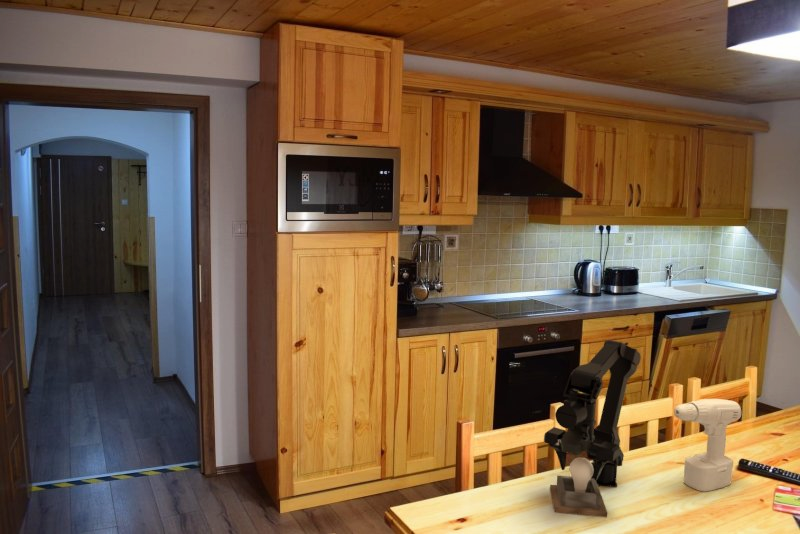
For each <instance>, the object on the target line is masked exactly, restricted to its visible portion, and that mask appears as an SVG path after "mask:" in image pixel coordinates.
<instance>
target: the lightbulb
mask: <svg viewBox="0 0 800 534" xmlns="http://www.w3.org/2000/svg"><path fill="white" fill-rule="evenodd" d="M568 470H569V473H570V475H571V476H570V477H572V478H573V481H574V488H575V492H583V493H585V490H586V488H587V484H588V482H589V480H590V479H591V477H592V476H593V472H594V469H593V466H592V464H591V461H590V459H588V458H585V457H576V458H573V460H572V461H571V462H570V463H569V469H568Z"/></svg>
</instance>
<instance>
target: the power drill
mask: <svg viewBox="0 0 800 534" xmlns="http://www.w3.org/2000/svg"><path fill="white" fill-rule="evenodd" d="M673 414H674V416H675V417H676V418H677V419H679V420H681V421H685V422H686V421H688V422H691V423H698V424H700V425H702V426H703V427H704V430H703V434H704V435H707V442H706V452H702V453H697V454H694V455H691V456H687V457H685V459H684V469H683V471H684V472H683V483H684V484H685V485H687V486H688V487H690V488H692V489H694V490H697V491H698V492H699V491H700V492H710V491H715V490H718V489H722V488H725V487H728V486H730V485H731V482H732V475H733V467H734V459H732V458H730V457H728V456H726V455H725V451H726V445H727V444H726V442H727V438H726V437H727V428H728V425H730V424H732V423H734V422H736V421H738V420H739V419H740V418H741V416H742V409H741V405H740V404H739V403H738V402H736V401H734V400H730V399H723V398H722V399H721V398H703V399H701V398H700V399H698V400H693V401H689V402H687V403H680V404H678V405H676V406H675V408H674V409H673Z"/></svg>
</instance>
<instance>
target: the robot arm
mask: <svg viewBox="0 0 800 534" xmlns="http://www.w3.org/2000/svg"><path fill="white" fill-rule="evenodd" d="M640 363H641V353H640V352H639V351H638V349H637V348H634V347H633V348H632V347H631V346H629V345H627V344H626V343H624V342H622V341H618V340H612V339H607V340H605V341H604V343H603V346H602V347H601V348H600V349H599V350H598V352H597V353H596V354H595V355H594V356H593V357H592V359H590V361H589V362H588V363H585V364H581V365H578V366H577V367H576V368H575V369H573V370H572V371H571V373H570V374H569V376H568V379H567V381H566V385H565V388H564V390H563V394H562V397H565V398H567V399H565V400H564V401H563V404H562V405H560V406H559V407H558V408H557V409H556V410H555V411H556V412H555V414H554V415H555V420H556V422H557V423H558V425H559V426H560V427H562V428H558V427H555V426H554V427H552V428H550V429H548V431H546V432H545V433H544V436H543V442H544V443H545V444H548V446H549V447H550V448H552V449H553V450H554V451H555V453H556V456H557V459H558V461H559V465H560V468H561V470H562V471H564V470H565V469H566V464H567V453H568V454H572V455H573V456H580V455H581V453H582V452H586V455H587V460H592V462H591V461H590V462H591V464H592V466H593V469H594V472H593V476H592V477H591V478H594V480H596V483H597V486H602V487H603V486H604V487H613V488H614V487H615V488H617V487H618V484H617V475H618V474H617V473H618V472H617V471H618V467H622V466H623V461H624V457H625V454H624V453H623V449H621V446H620V444H621V439H620V436H619V433H618V430H617V428H618V425H619V424H618V423H619V419H620V415H621V410H622V407H623V406H622V405H623V403H624V398H625V394H626V390H627V384H628V381H629V379H630V378H631V377H632V376H633V375H634V374H635V373H636V372H637V368H638V366H639V364H640ZM608 371H609V372H610V377H609V381H608V386H607V389H606V394H605V399H604V403H603V407H602V411H601V416H600V419H599V420H600V421H599V424H598V425H597V426H596V424H597V420H595V418H596V405H597V403H596V401H597V400H598V398H599V395H600V393H601V390H602V389H603V384H604V383H603V378H604V376H605V375H606V373H607V372H608ZM595 426H596V427H595ZM563 428H564V429H563ZM565 429H567V430H565Z"/></svg>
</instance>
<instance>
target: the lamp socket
mask: <svg viewBox="0 0 800 534" xmlns="http://www.w3.org/2000/svg"><path fill="white" fill-rule="evenodd" d="M549 491H550V495H551V500H552V501H551V502H552V506H553V511H554V513H559V514H570V515H578V516H579V515H580V516H590V517H591V516H592V517H600V518H607V517H608V511H607V510H608V509H607V508H606V505H605V502H604V499H603V497H602V494H601V490H600V488H599V485H597V483H596V480H594V478H591V479H590V480H589V482H588V484H587V488H586V490H585V493H583V492H575V488H574V481H573V478H572V476H570V475H569V476H568V475H560V474H559V475H556V484H550V485H549Z"/></svg>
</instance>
